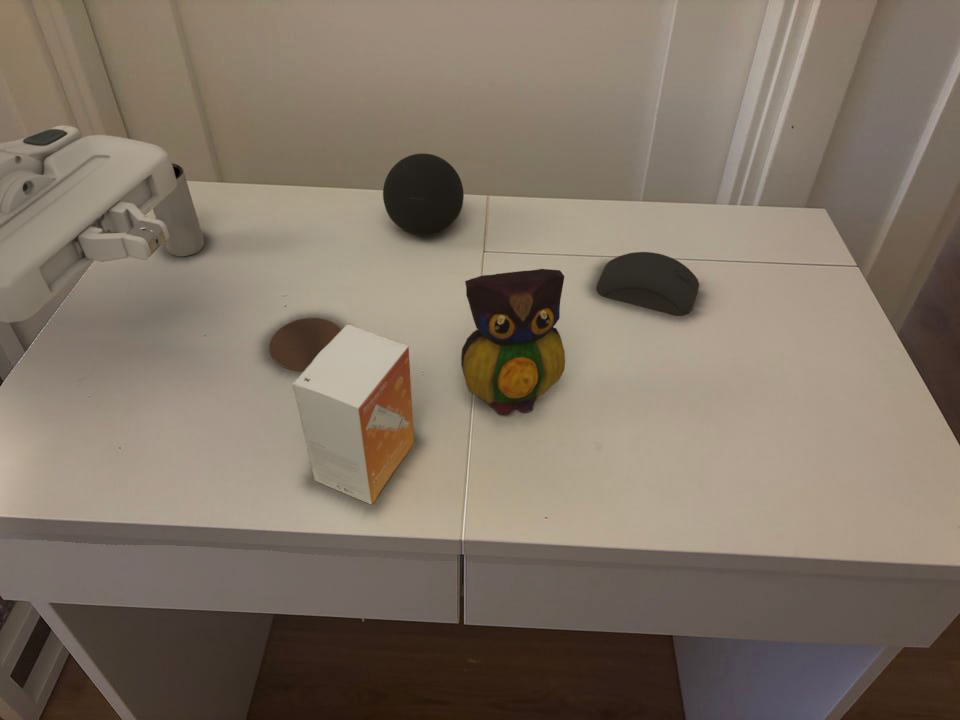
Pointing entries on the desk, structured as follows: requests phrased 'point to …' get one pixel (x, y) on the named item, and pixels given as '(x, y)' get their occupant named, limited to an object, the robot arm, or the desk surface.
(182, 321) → the desk surface
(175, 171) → the grey cylinder
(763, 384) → the desk surface
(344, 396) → the small box
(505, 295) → the figurine
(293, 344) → the coaster
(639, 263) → the computer mouse
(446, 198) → the speaker
